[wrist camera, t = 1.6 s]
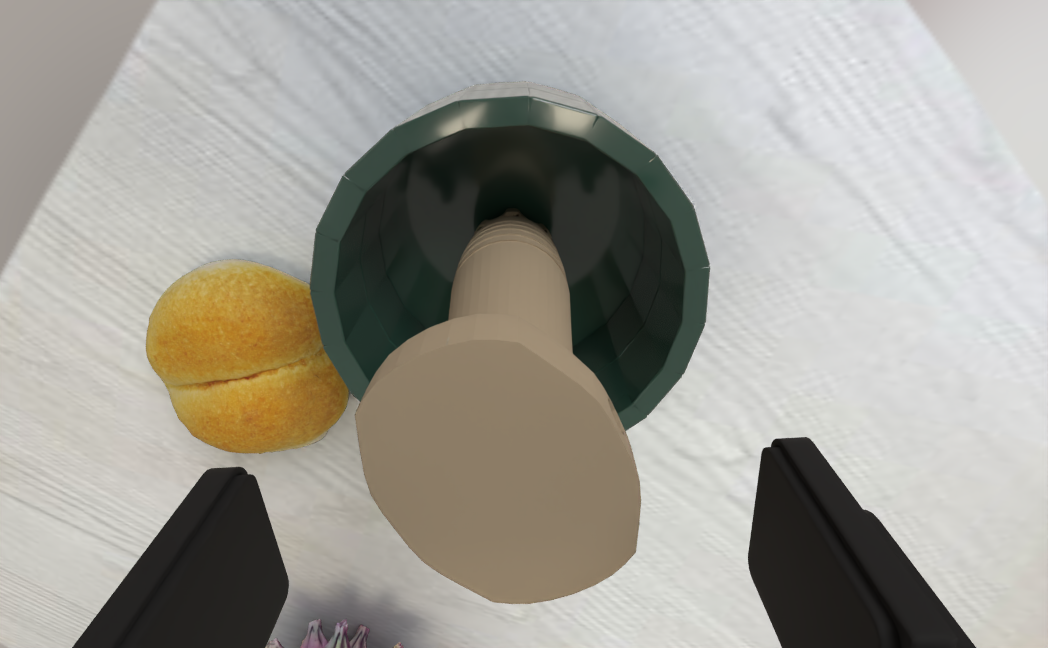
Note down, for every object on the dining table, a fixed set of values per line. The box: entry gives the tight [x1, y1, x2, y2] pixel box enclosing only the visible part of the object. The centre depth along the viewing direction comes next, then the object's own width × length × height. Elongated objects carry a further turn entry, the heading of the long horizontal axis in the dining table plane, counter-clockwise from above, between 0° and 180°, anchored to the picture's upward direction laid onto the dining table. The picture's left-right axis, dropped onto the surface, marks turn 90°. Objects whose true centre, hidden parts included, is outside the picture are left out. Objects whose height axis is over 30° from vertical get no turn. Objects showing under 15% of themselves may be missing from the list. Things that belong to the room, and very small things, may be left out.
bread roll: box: [146, 259, 349, 454], centre depth 25 cm, size 8×9×4 cm
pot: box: [310, 81, 710, 431], centre depth 22 cm, size 13×13×7 cm
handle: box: [355, 208, 641, 604], centre depth 18 cm, size 5×6×15 cm
